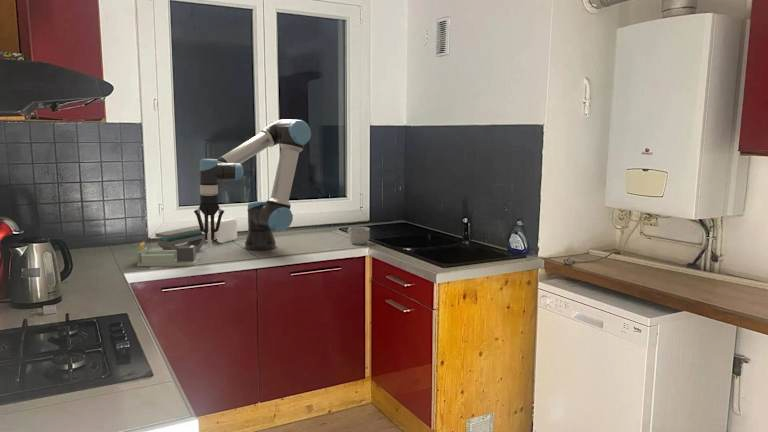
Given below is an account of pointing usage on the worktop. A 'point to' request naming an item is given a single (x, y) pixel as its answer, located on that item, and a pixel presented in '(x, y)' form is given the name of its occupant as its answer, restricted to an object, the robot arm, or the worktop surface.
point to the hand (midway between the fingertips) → (209, 247)
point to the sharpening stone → (181, 238)
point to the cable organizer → (224, 230)
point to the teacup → (358, 235)
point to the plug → (186, 253)
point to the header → (160, 257)
